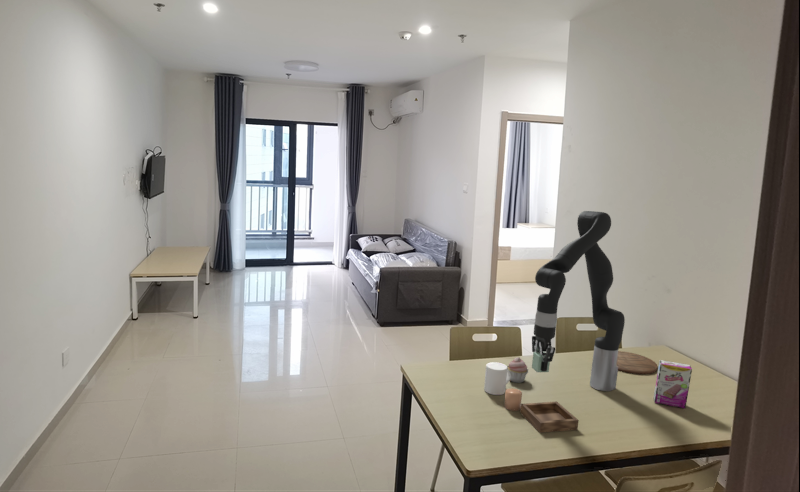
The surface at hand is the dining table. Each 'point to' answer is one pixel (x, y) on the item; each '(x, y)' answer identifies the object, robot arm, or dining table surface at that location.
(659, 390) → the candy bar box
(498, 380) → the mug
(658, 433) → the dining table surface
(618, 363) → the trivet
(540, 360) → the sage block
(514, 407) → the peach capsule shape
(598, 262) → the robot arm
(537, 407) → the tray
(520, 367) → the cupcake
